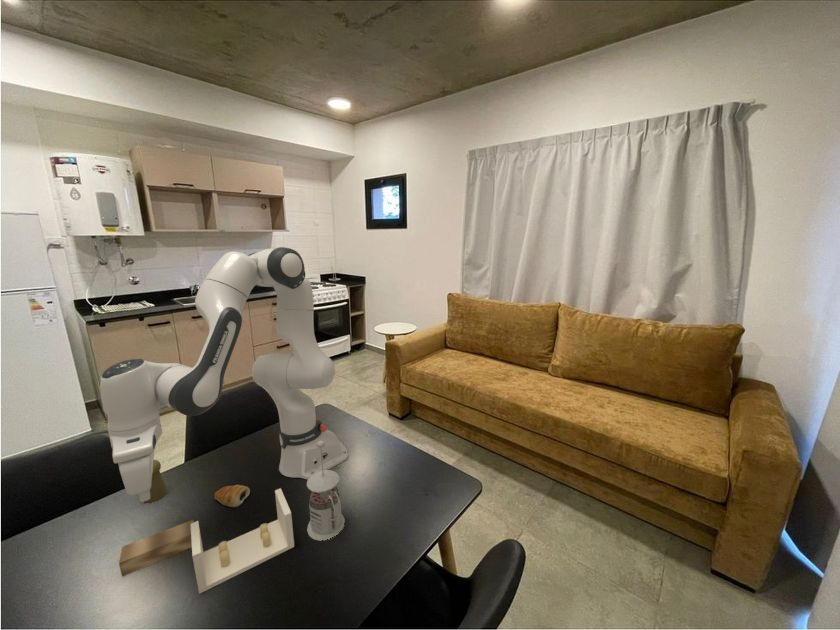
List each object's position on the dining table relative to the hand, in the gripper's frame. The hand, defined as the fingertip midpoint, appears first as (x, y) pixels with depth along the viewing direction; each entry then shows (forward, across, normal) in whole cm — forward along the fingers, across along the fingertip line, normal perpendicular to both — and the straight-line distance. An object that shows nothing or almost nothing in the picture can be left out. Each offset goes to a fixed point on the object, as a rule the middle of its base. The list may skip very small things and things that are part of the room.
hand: (147, 486), depth 78 cm
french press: (+19, +16, +36) cm, 44 cm away
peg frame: (+19, +12, +17) cm, 28 cm away
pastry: (+19, -10, +17) cm, 27 cm away
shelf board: (+19, 0, 0) cm, 19 cm away
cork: (+19, -24, -2) cm, 31 cm away
